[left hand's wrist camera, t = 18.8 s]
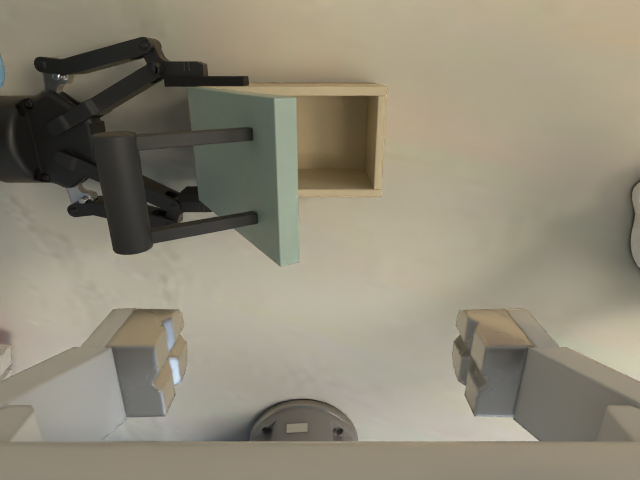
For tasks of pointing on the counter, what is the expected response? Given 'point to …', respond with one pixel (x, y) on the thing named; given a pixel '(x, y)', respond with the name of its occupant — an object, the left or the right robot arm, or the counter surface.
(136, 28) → the counter surface
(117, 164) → the lid
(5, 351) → the toy
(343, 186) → the chest
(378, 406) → the counter surface
